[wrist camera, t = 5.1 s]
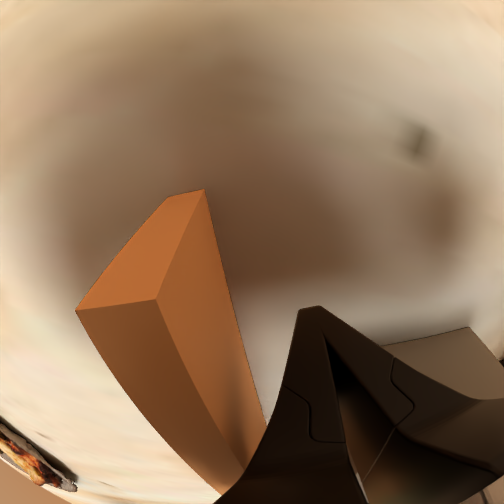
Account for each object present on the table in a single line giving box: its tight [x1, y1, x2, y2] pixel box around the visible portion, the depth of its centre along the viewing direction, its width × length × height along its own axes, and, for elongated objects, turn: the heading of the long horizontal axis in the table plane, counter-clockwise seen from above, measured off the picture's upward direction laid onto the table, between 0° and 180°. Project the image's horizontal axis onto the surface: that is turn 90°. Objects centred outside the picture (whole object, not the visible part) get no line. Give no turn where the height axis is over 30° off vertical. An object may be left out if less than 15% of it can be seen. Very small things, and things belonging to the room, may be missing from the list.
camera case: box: [346, 327, 504, 504], centre depth 13 cm, size 10×18×8 cm, turn 179°
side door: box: [75, 189, 267, 495], centre depth 11 cm, size 2×27×6 cm, turn 10°
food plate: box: [0, 423, 78, 492], centre depth 18 cm, size 25×23×4 cm
